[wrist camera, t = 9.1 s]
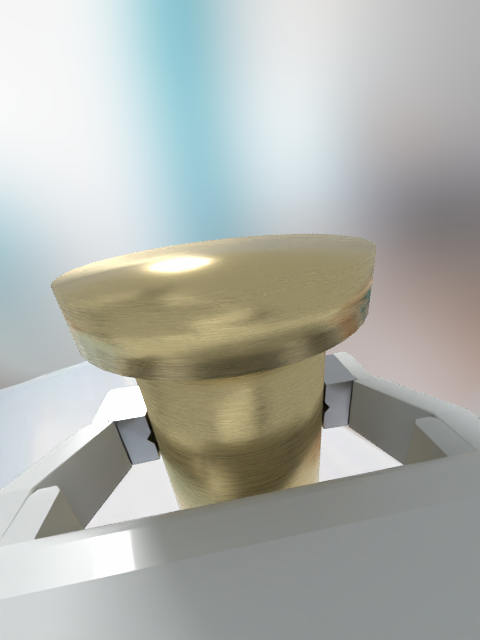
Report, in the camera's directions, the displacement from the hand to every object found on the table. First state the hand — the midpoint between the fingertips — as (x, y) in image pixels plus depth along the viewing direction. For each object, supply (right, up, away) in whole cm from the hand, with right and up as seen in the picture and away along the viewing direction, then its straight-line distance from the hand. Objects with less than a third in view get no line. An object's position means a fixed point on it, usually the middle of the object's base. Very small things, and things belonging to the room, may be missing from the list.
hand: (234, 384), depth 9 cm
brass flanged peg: (+1, -8, +2) cm, 8 cm away
